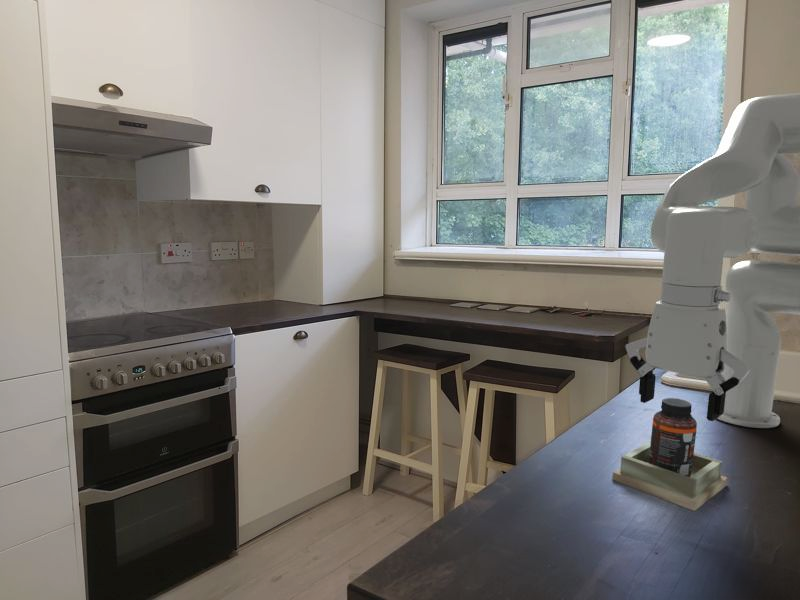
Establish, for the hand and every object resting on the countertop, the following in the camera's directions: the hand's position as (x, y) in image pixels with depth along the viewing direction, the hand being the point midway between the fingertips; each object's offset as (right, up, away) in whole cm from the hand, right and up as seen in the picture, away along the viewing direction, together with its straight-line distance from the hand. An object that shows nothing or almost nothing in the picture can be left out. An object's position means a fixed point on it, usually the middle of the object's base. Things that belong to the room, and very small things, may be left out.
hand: (678, 409), depth 87 cm
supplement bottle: (-1, -10, +1) cm, 10 cm away
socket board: (-1, -11, +1) cm, 11 cm away
